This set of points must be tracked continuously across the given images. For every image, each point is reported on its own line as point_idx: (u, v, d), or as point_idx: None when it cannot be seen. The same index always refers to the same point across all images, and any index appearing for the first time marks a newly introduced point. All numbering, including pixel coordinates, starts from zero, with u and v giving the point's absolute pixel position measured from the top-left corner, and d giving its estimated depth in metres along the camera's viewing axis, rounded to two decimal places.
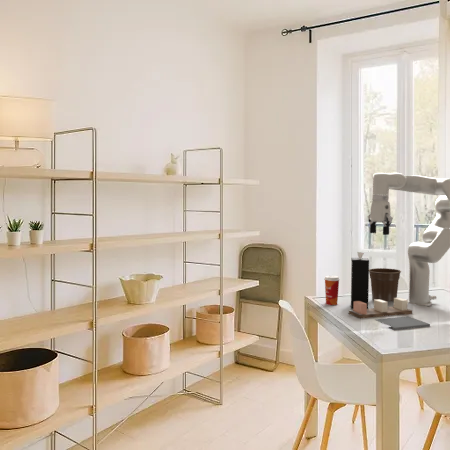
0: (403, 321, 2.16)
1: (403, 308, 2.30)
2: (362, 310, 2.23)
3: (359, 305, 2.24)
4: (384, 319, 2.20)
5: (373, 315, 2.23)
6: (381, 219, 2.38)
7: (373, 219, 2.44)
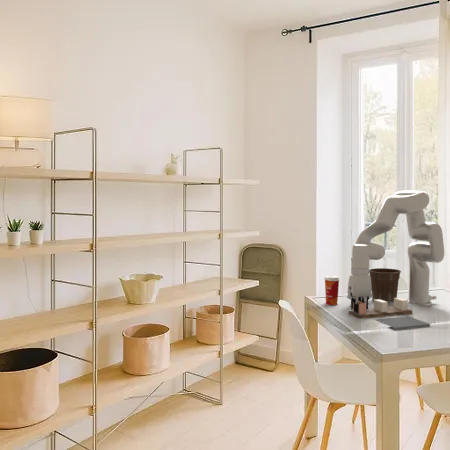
0: (403, 321, 2.16)
1: (403, 308, 2.30)
2: (361, 310, 2.23)
3: None
4: (384, 319, 2.20)
5: (373, 315, 2.23)
6: (369, 293, 2.25)
7: (358, 295, 2.23)
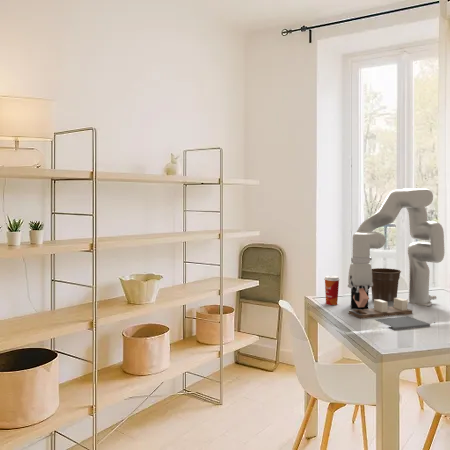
0: (403, 321, 2.16)
1: (403, 308, 2.30)
2: (361, 293, 2.24)
3: None
4: (384, 319, 2.20)
5: (373, 315, 2.23)
6: (370, 282, 2.25)
7: (359, 283, 2.23)
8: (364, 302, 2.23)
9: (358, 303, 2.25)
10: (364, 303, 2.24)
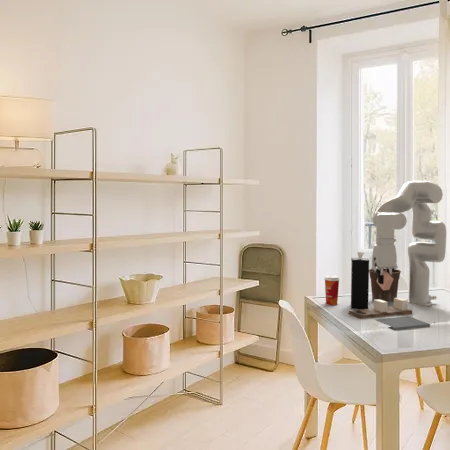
0: (403, 321, 2.16)
1: (403, 308, 2.30)
2: None
3: None
4: (384, 319, 2.20)
5: (373, 315, 2.23)
6: (394, 264, 2.18)
7: (383, 265, 2.16)
8: (386, 274, 2.18)
9: (385, 279, 2.16)
10: (388, 275, 2.17)
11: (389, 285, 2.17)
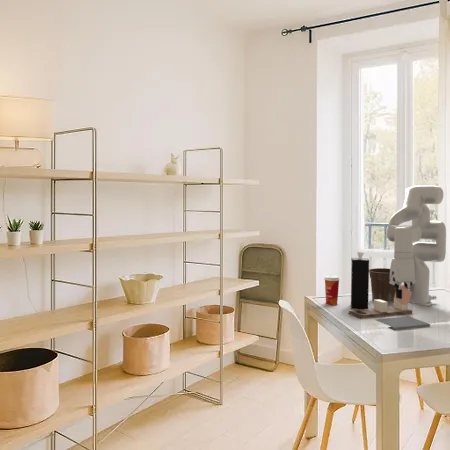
0: (403, 321, 2.16)
1: (403, 308, 2.30)
2: None
3: (401, 301, 2.13)
4: (384, 319, 2.20)
5: (373, 315, 2.23)
6: (413, 278, 2.14)
7: (401, 280, 2.12)
8: None
9: None
10: None
11: (406, 289, 2.13)
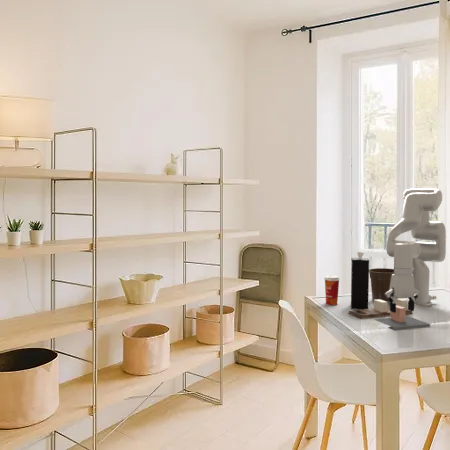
0: None
1: None
2: (401, 315, 2.15)
3: (397, 309, 2.16)
4: (384, 319, 2.20)
5: (373, 315, 2.23)
6: (412, 294, 2.14)
7: (401, 296, 2.12)
8: None
9: (392, 316, 2.19)
10: None
11: None
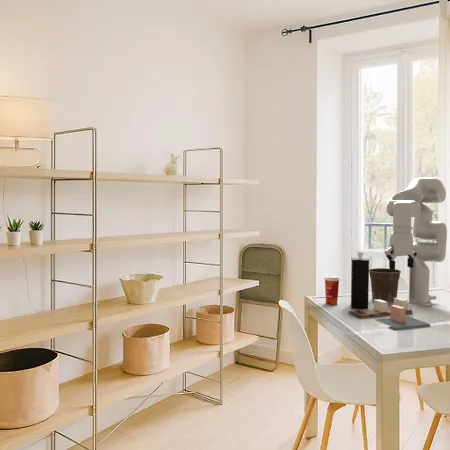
0: None
1: None
2: (401, 315, 2.15)
3: (397, 309, 2.16)
4: (384, 319, 2.20)
5: (373, 315, 2.23)
6: (411, 252, 2.19)
7: (400, 253, 2.17)
8: None
9: (392, 316, 2.19)
10: None
11: None
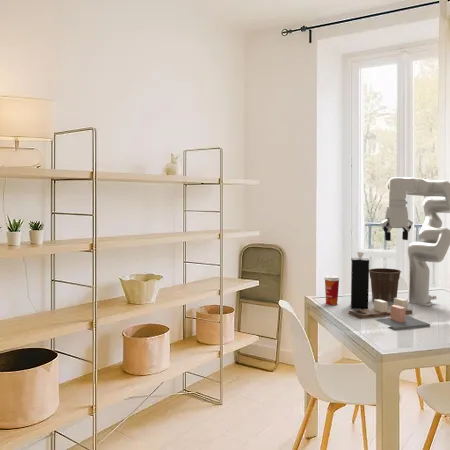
0: None
1: None
2: (401, 315, 2.15)
3: (397, 309, 2.16)
4: (384, 319, 2.20)
5: (373, 315, 2.23)
6: (406, 224, 2.34)
7: (396, 225, 2.32)
8: None
9: (392, 316, 2.19)
10: None
11: None
